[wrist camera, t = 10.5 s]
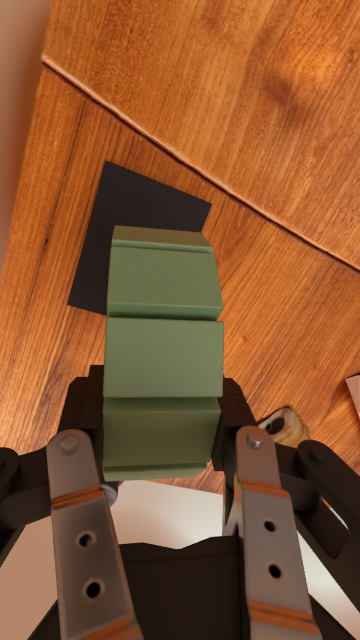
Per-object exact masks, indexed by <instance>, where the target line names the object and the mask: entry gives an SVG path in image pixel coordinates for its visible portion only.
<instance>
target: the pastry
mask: <svg viewBox="0 0 360 640" xmlns="http://www.w3.org/2000/svg"><path fill="white" fill-rule="evenodd" d="M258 427H259V428H261V429H263V430H265V431H266V432H268V433H269V434H270V435H271V437H272V438H273V440H274V442H276V443H278V444H282V445H286V446H290V447H294V448H297V447H298V445H299V443H300V442H302V441H304V440H311V439H310V436H309V431H308V427H307V426H306V425H305V424H303V422H302V421H301V419H300V418H299V417H298V416H297V415H296V412H295V411H294V410H293V409H289V408H285V407H284V408H281V409H280V410H278V411H277V412H275V413H274V414H273V415H271V416H270V417H269V418H268V419H267V420H265V421H264V422H262V423H260V424H259V425H258Z"/></svg>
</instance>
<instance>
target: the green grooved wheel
mask: <svg viewBox="0 0 360 640" xmlns="http://www.w3.org/2000/svg"><path fill="white" fill-rule="evenodd" d="M212 248H213V247H212V246H211V245H210V243H209V242H208V241H207V240H206V239H205V237H204V236H203V235H202V234H201V233H200V232H188V231H176V230H164V229H153V228H141V227H129V226H117V225H116V226H115V227H114V232H113V237H112V247H111V254H110V267H109V281H108V294H107V316H108V318H107V319H106V332H105V357H104V382H103V396H104V403H103V462H102V465H103V475H104V479H105V481H126V480H147V479H169V478H190V477H195V476H196V475H198V474H199V473H201V472H202V471H204V470H205V469H207V462H210V460H211V455H212V450H213V446H214V441H215V437H216V432H217V428H218V423H219V419H220V414H221V409H220V406H219V403H218V400H217V397H222V395H223V355H224V322H222V321H217V320H218V318H219V316H220V314H221V312H222V310H223V302H222V295H221V289H220V283H219V277H218V271H217V264H216V258H215V254H212Z"/></svg>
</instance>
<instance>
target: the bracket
mask: <svg viewBox="0 0 360 640" xmlns="http://www.w3.org/2000/svg"><path fill="white" fill-rule="evenodd" d="M345 380H346V383H347V386H348V388H349V391H350V394H351V397H352V400H353V402H354V405H355V408H356V411H357V414H358V416H359V419H360V375H358V376H354V377H350V378H347V379H345Z"/></svg>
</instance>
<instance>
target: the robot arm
mask: <svg viewBox="0 0 360 640" xmlns="http://www.w3.org/2000/svg"><path fill="white" fill-rule="evenodd" d="M103 382H104V365H90V370H89V375H88V377H76V378H75V379H74V380H73V381H72V383H71V384H70V385H69V388H68V392H67V396H66V400H65V404H64V407H63V411H62V415H61V419H60V423H59V427H58V430H57V433H56V435H54V436H53V437H52V438H51V439H50V440H49V442H48V444H47V445H46V446H45V447H43V448H41V449H39V450H36V451H34V452H30V453H27V454H23V455H20V456H18V454H17V453H16V452H15V451H14V450H12V449H10V448H5V447H0V567H1V565H2V564H3V562H4V561H5V559H6V557H7V556H8V554H9V552H10V551H11V549H12V548H13V546H14V544H15V543H16V541H17V539H18V538H19V536H20V534H21V533H22V531H23V530H24V528H25V526H26V525H27V524H30V523H32V522H35V521H38V520H40V519H43V518H45V517H48V516H51V519H52V530H53V544H54V556H55V569H56V581H57V595H58V599H57V600H56V601H55V603H54V604H53V605H52V607H51V608H50V610H49V611H48V612H47V614H46V615H45V616H44V618H43V619H42V620H41V622H40V623H39V624H38V626H37V627H36V628H35V630H34V631H33V632H32V634H31V635H30V637H29V638H28V639H27V640H356V639H355V638H354V637H353V636H352V635H351V634H350V633H349V632H348V631H347V630H346V629H345V628H344V627H343V626H342V625H341V624H340V623H339V622H338V621H337V620H336V619H335V618H333V617H332V615H331V614H330V613H329V612H328V611H327V610H325V609H324V608H323V607H322V606H321V605H320V604H319V603H318V602H317V601H316V600H315V599H314V598H313V597H312V596H311V595H310V594H309V593H308V588H307V583H306V578H305V572H304V567H303V562H302V556H301V550H300V545H299V540H298V534H297V530H298V532H299V533H300V534H301V536H302V537H303V538H304V540H305V541H306V542H307V544H308V545H309V546H310V548H311V549H312V550H313V552H314V553H315V554H316V556H317V557H318V558H319V560H320V561H321V562H322V563H323V565H324V566H325V568H326V569H327V570H328V572H329V573H330V574H331V576H332V577H333V578H334V579H335V581H336V582H337V583H338V585H339V586H340V587H341V589H342V590H343V591H344V593H345V594H346V595H347V597H348V598H349V599H350V601H351V602H352V603H353V605H354V606H355V607H356V609H357V610H358V611H359V613H360V476H359V475H358V474H357V473H356V472H354V471H353V470H352V469H351V468H350V467H349V466H348V465H347V464H346V463H345V462H344V461H343V460H342V459H341V458H340V457H339V456H338V455H337V454H335V453H334V452H333V451H332V450H331V449H330V448H329V447H328V446H326V445H325V444H323V443H321V442H318V441H315V440H304V441H302V442H300V443H299V445H298V447H297V448H294V447H290V446H286V445H282V444H278V443H276V442H274V440H273V438H272V437H271V435H270V434H269V433H268V432H266V431H265V430H263V429H261V428H259V427H258V425H257V423H256V420H255V418H254V416H253V414H252V412H251V410H250V407H249V405H248V403H247V402H246V399H245V397H244V396H243V392H242V390H241V388H240V386H239V385H238V384H237V383H236V382H235V381H234V380H233V379H232V378H225V377H224V375H223V395H222V397H217V400H218V403H219V406H220V409H221V414H220V419H219V423H218V428H217V432H216V437H215V441H214V446H213V450H212V455H211V460H212V463H213V467H214V471H224V475H225V480H224V484H223V530H222V531H223V532H222V536H220V537H219V536H218V537H210V538H207V539H205V540H202V541H200V542H197V543H194V544H192V545H190V546H187V547H184V548H182V549H173V548H167V547H162V546H157V545H153V544H148V543H130V544H118V541H117V536H116V532H115V528H114V524H113V519H112V515H111V511H110V507H109V503H108V498H107V494H106V491H105V489H104V488H102V486H101V482H100V478H99V476H101V473H102V462H103V403H104V396H103ZM323 498H324V499H325V501H326V502H327V503H328V504H329V505H330V506H331V507H332V508H333V510H334V511H335V512H336V513H337V514H338V515H339V516H340V517H341V519H343V521H344V522H345V523H346V525H347V527H348V529H347V528H346V527H345V526H344V525H343V524H342V523H341V521H340V520H339V519H338V518H337V517H336V516H335V515H334V513H333V512H332V511H331V510H330V509H329V508H328V507H327V505H326V504H325V503H324V502H323V501H322V499H323Z"/></svg>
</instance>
